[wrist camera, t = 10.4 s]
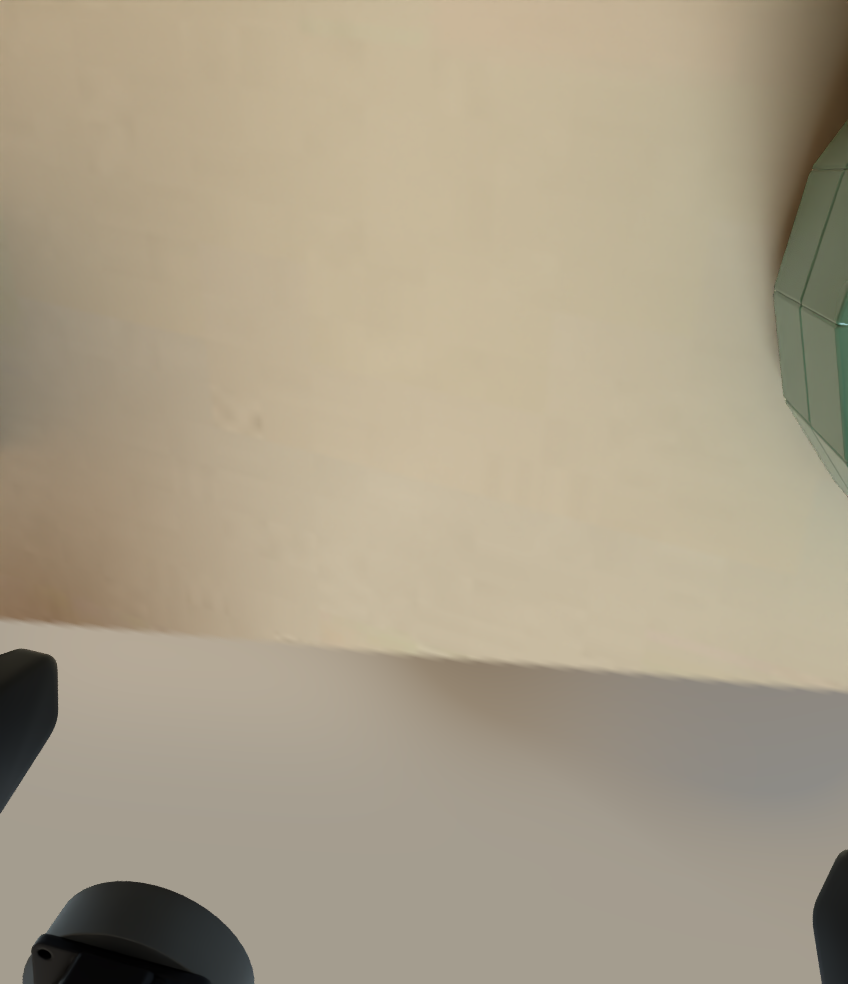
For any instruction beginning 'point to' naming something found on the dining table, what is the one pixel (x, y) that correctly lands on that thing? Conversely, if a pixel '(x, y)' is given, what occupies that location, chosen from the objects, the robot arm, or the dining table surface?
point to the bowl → (818, 311)
